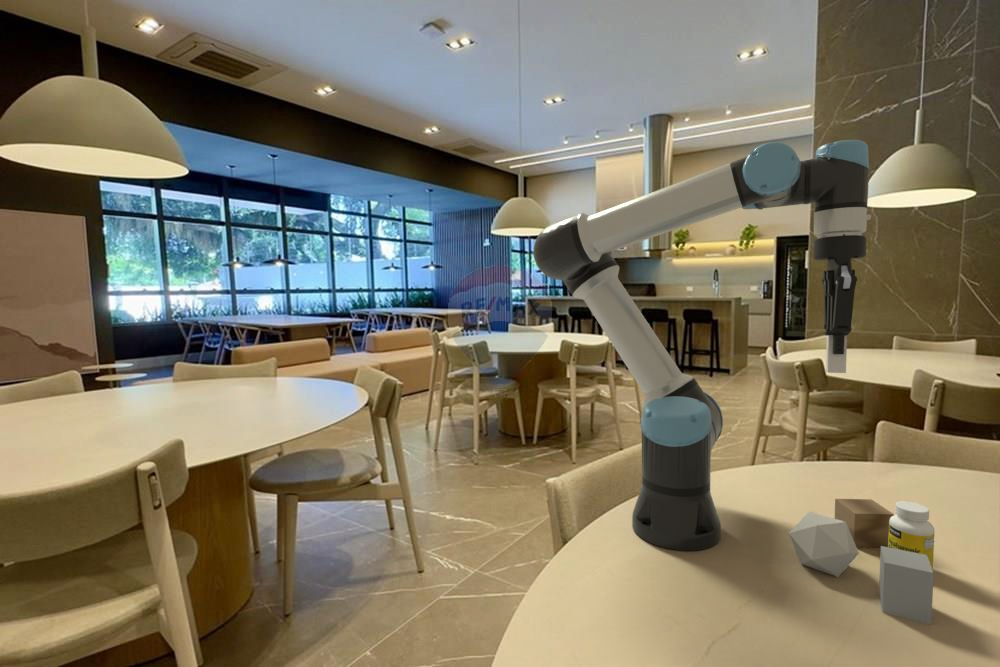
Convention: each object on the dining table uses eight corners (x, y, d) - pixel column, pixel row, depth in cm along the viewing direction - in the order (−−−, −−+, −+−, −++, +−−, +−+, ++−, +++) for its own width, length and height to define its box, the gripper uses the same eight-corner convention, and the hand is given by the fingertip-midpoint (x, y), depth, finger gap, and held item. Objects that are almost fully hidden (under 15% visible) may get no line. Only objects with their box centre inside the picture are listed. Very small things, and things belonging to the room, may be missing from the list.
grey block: (882, 612, 67) (884, 562, 67) (878, 593, 72) (880, 545, 71) (931, 625, 65) (933, 572, 64) (924, 604, 69) (926, 555, 68)
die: (866, 573, 78) (836, 509, 83) (871, 570, 71) (838, 501, 76) (808, 583, 81) (783, 520, 86) (808, 581, 74) (780, 513, 79)
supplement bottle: (879, 563, 79) (881, 502, 78) (900, 555, 81) (902, 496, 80) (919, 581, 74) (922, 516, 73) (940, 572, 76) (943, 509, 76)
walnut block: (853, 548, 84) (854, 513, 84) (834, 531, 90) (835, 498, 89) (892, 549, 83) (894, 514, 83) (870, 532, 89) (871, 499, 89)
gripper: (877, 230, 79) (872, 379, 81) (855, 238, 91) (851, 367, 93) (821, 234, 82) (818, 377, 84) (807, 240, 94) (804, 366, 96)
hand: (835, 372), depth 89 cm, fingers closed
